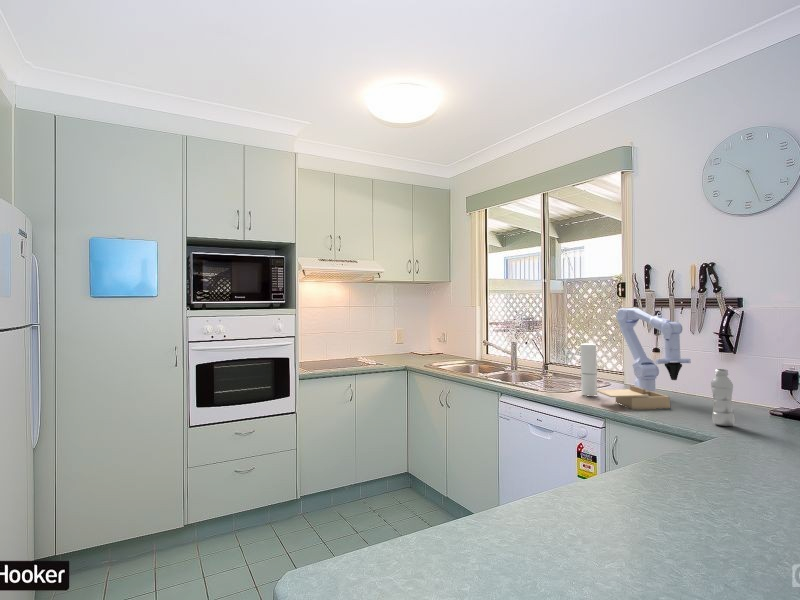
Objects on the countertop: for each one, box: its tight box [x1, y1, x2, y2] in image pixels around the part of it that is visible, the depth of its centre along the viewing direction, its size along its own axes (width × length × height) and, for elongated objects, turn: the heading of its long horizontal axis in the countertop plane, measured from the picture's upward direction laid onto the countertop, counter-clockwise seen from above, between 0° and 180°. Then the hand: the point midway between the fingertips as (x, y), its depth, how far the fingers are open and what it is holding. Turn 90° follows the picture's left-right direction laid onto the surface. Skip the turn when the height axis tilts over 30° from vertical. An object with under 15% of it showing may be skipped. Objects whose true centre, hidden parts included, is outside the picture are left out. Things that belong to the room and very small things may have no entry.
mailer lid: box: [596, 385, 649, 398], centre depth 198 cm, size 14×16×3 cm
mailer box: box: [615, 391, 671, 410], centre depth 198 cm, size 14×16×5 cm
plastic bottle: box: [710, 368, 736, 427], centre depth 163 cm, size 6×7×20 cm
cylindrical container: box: [579, 343, 598, 396], centre depth 223 cm, size 7×7×25 cm
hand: (673, 379), depth 201 cm, fingers closed
